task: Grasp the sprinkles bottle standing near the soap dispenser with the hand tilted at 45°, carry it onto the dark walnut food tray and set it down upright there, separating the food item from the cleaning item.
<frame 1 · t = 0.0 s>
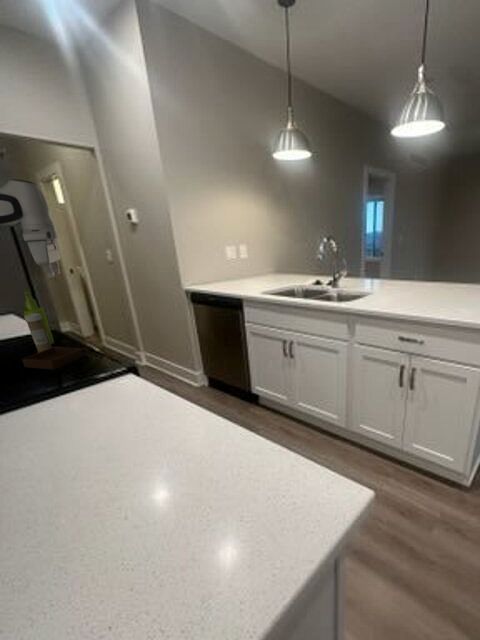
hand: (54, 276, 120), 25 cm above the counter, tool pointing down, fingers open, 8 cm apart
food tray: (55, 361, 111), on the counter
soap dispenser: (45, 344, 129), on the counter
sprinkles bottle: (45, 352, 121), on the counter
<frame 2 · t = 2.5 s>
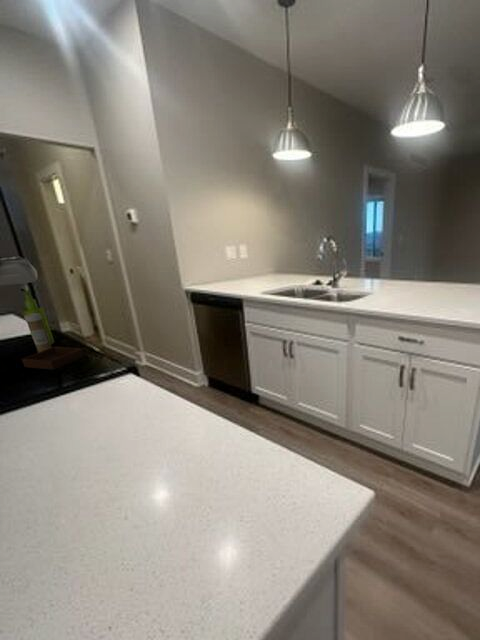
hand: (6, 291, 102), 23 cm above the counter, tool tilted 45°, fingers open, 8 cm apart
nothing on the counter moved.
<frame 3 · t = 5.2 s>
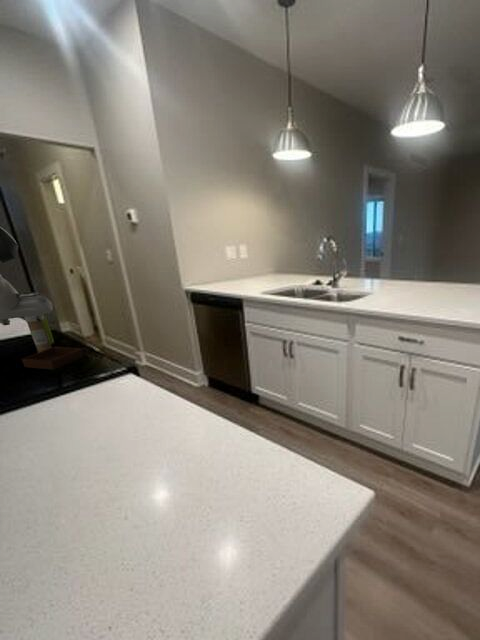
hand: (24, 321, 110), 13 cm above the counter, tool tilted 45°, fingers open, 8 cm apart
nothing on the counter moved.
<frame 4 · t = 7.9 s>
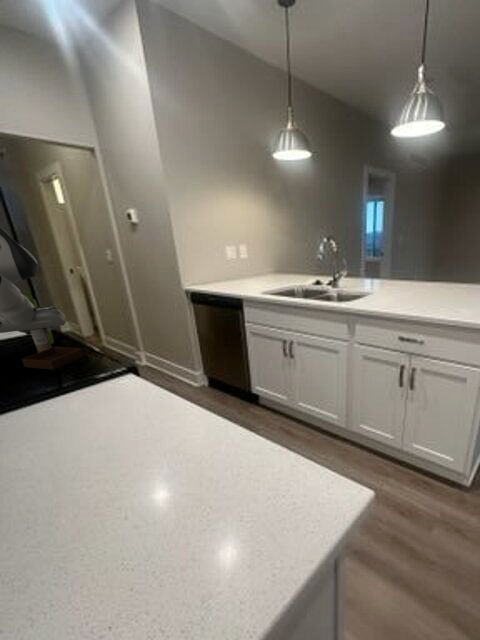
hand: (39, 331, 119), 7 cm above the counter, tool tilted 45°, fingers closed on sprinkles bottle, 4 cm apart
sprinkles bottle: (45, 352, 121), on the counter, touching gripper
everything else where it was.
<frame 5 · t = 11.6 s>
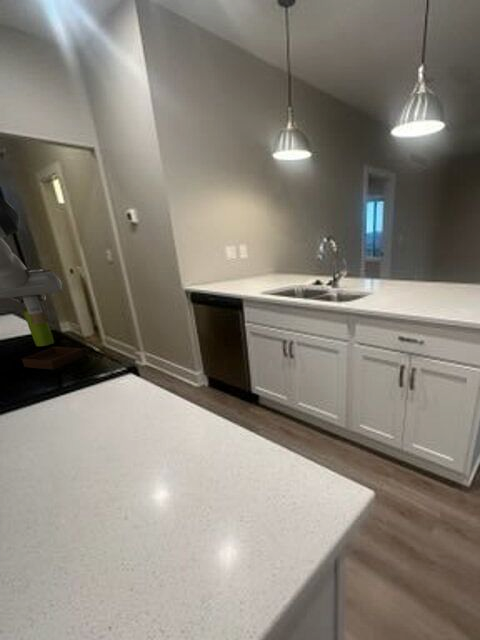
hand: (33, 300, 107), 20 cm above the counter, tool tilted 45°, fingers closed on sprinkles bottle, 4 cm apart
sprinkles bottle: (40, 323, 109), point 12 cm above the counter, touching gripper
everything else where it was.
when the fingers open (8 cm above the counter, at t = 15.6 s): sprinkles bottle stays where it is, resting on food tray.
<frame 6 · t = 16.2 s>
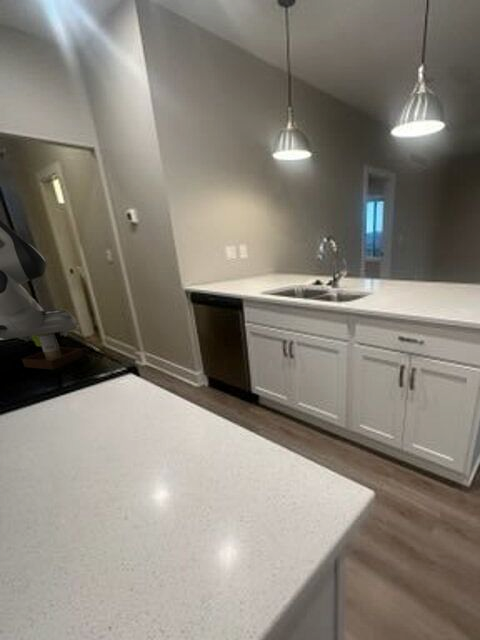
hand: (47, 337, 109), 8 cm above the counter, tool tilted 45°, fingers open, 8 cm apart
sprinkles bottle: (54, 359, 111), point 1 cm above the counter, touching food tray
everything else where it was.
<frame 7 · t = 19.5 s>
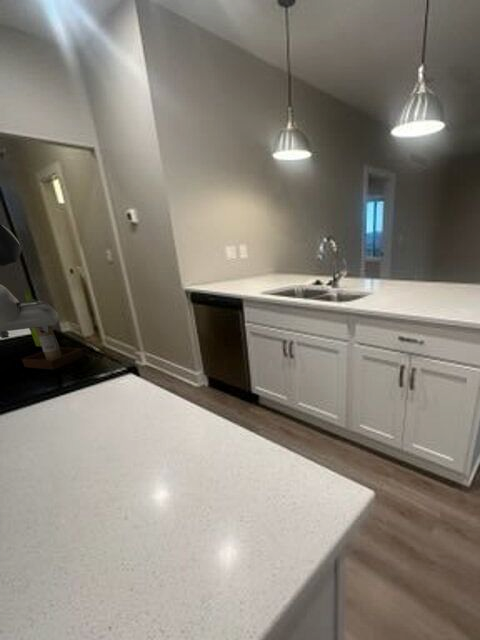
hand: (25, 333, 95), 13 cm above the counter, tool tilted 45°, fingers open, 8 cm apart
nothing on the counter moved.
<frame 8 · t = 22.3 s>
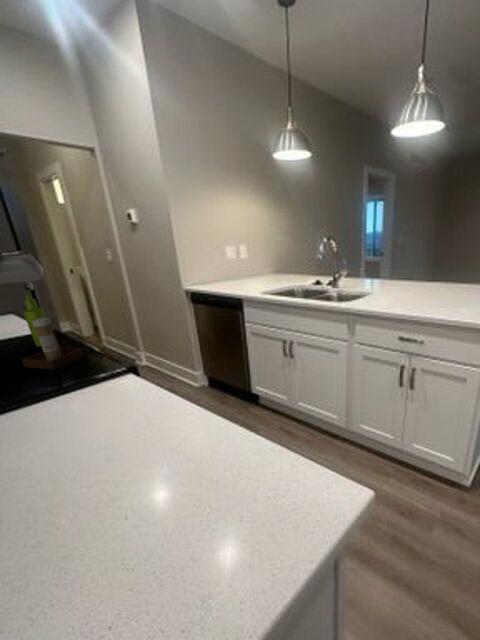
hand: (9, 289, 91), 25 cm above the counter, tool tilted 45°, fingers open, 8 cm apart
nothing on the counter moved.
at the end: sprinkles bottle inside the target area in the food tray (0.0 cm from its centre), point 0.6 cm above the food tray's base; sprinkles bottle tilted 0°; the gripper is holding nothing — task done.
